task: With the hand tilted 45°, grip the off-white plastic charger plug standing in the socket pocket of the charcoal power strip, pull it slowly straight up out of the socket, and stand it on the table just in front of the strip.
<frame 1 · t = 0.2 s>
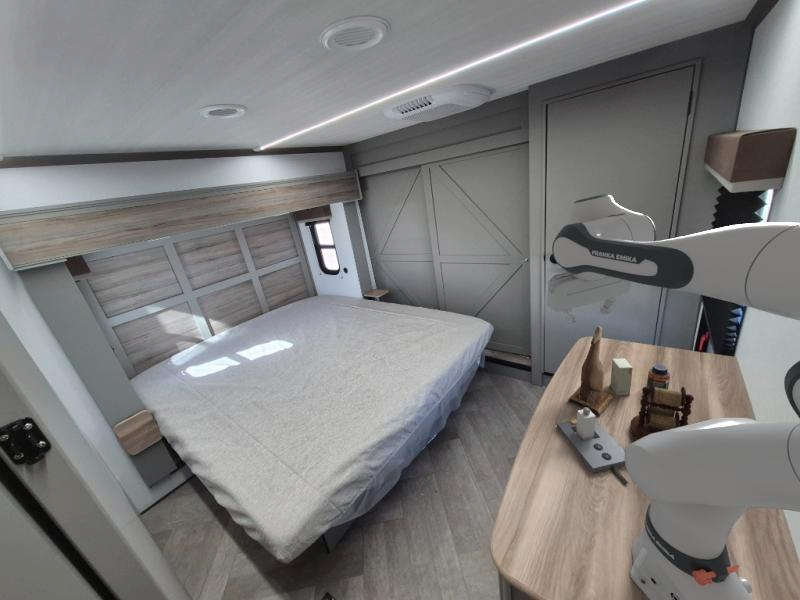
hand: (588, 317, 78), 47 cm above the cabinet, tool pointing down, fingers open, 8 cm apart
supplement bottle: (656, 393, 112), on the cabinet
charger plug: (584, 436, 101), resting in power strip
brown thread spool stand: (658, 438, 96), on the cabinet
bird sculpture: (589, 401, 114), on the cabinet
skincare box: (619, 390, 116), on the cabinet
power strip: (588, 441, 99), on the cabinet
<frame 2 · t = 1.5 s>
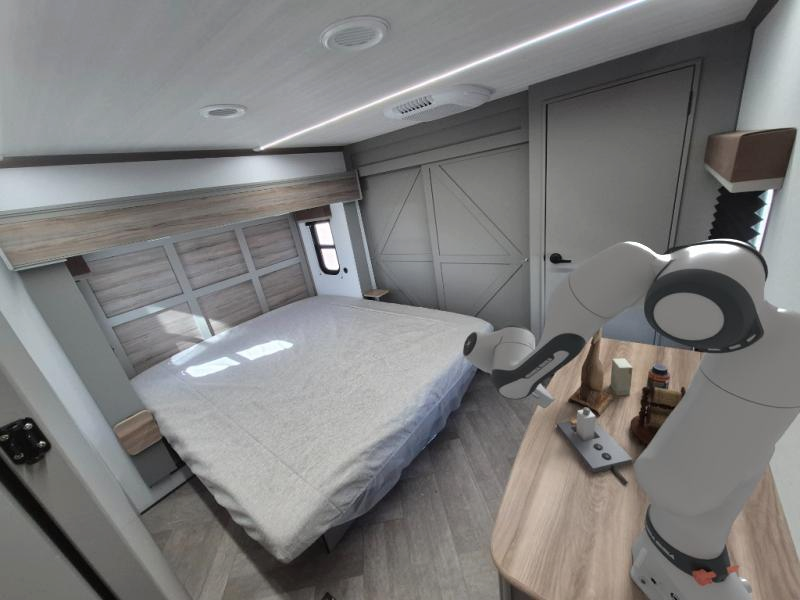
hand: (542, 389, 91), 23 cm above the cabinet, tool tilted 45°, fingers open, 8 cm apart
nothing on the cabinet moved.
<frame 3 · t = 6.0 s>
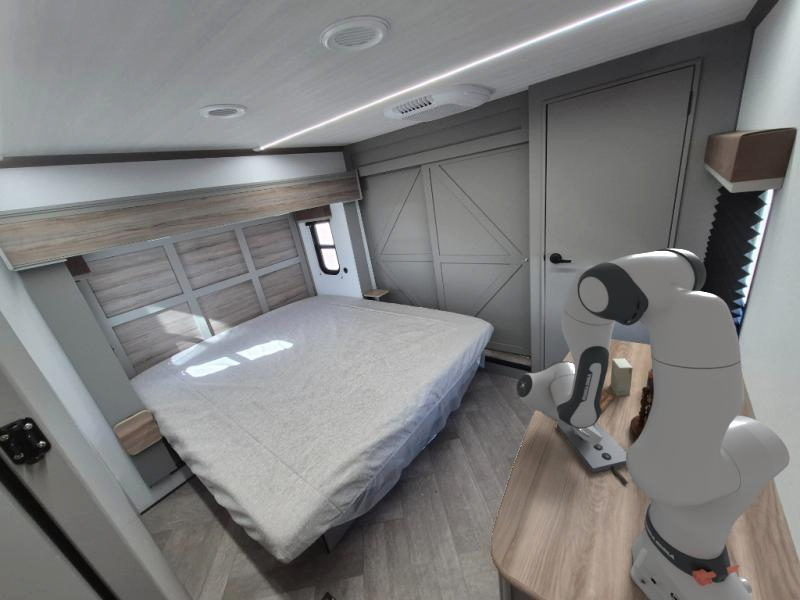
hand: (587, 423, 99), 5 cm above the cabinet, tool tilted 45°, fingers closed on charger plug, 3 cm apart
charger plug: (584, 436, 101), resting in power strip, touching gripper
everything else where it was.
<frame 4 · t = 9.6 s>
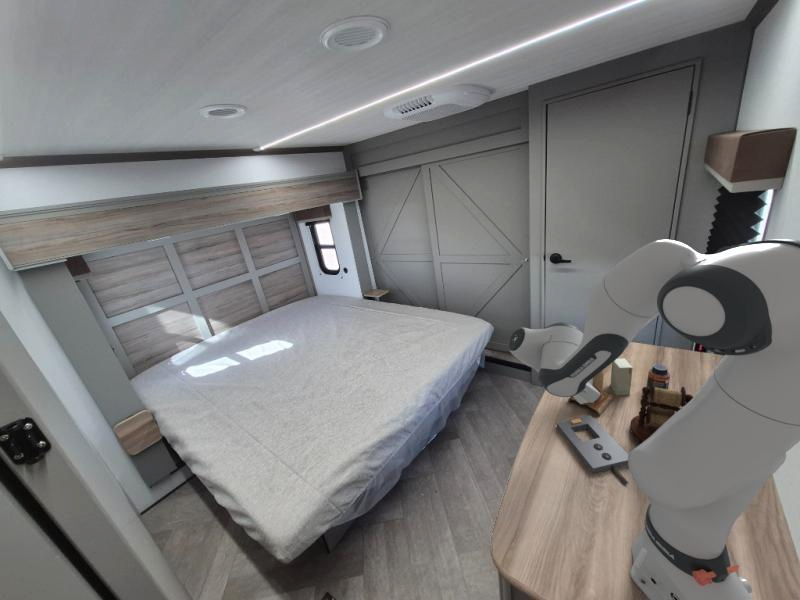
hand: (584, 384, 93), 21 cm above the cabinet, tool tilted 45°, fingers closed on charger plug, 3 cm apart
charger plug: (581, 399, 95), point 16 cm above the cabinet, touching gripper
everything else where it was.
when the fingers open (7 cm above the cabinet, at t = 13.4 s): charger plug drops 1 cm, on the cabinet.
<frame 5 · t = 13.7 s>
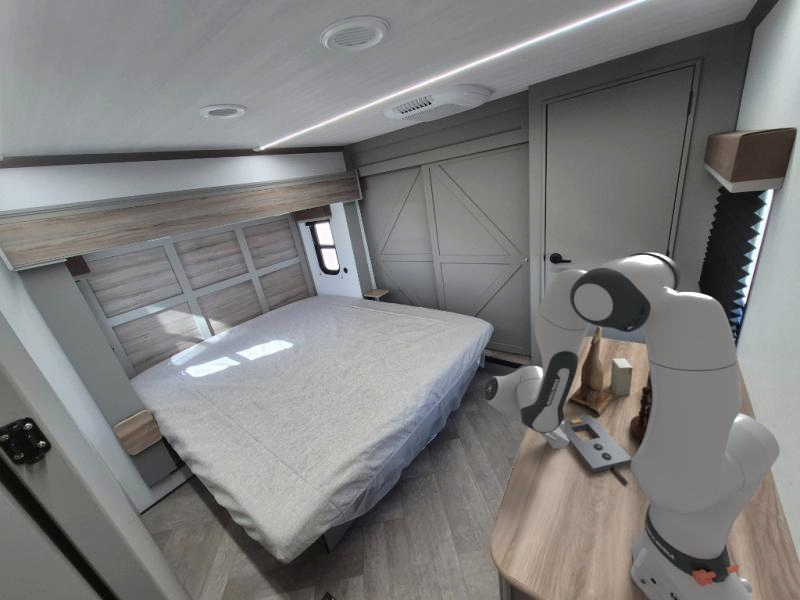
hand: (557, 427, 98), 7 cm above the cabinet, tool tilted 45°, fingers open, 6 cm apart
charger plug: (555, 443, 100), on the cabinet
everything else where it was.
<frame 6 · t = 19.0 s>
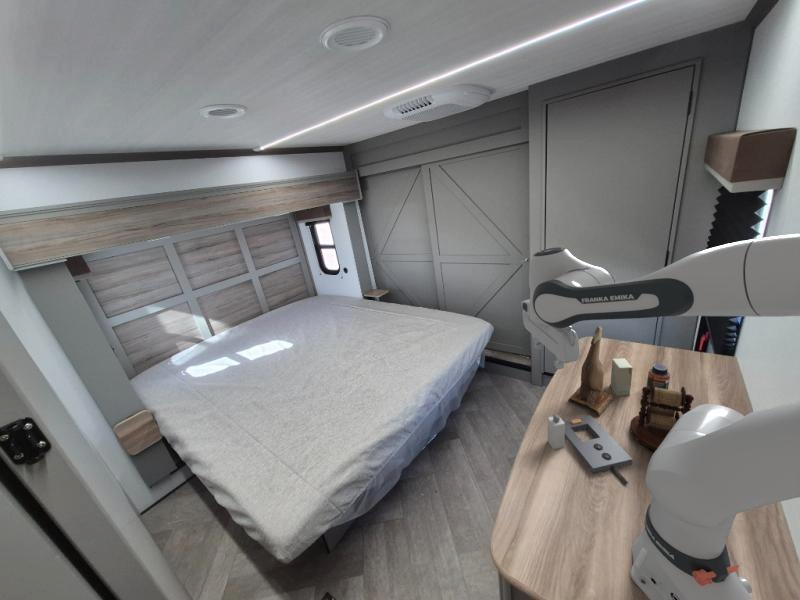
hand: (548, 357, 82), 37 cm above the cabinet, tool pointing down, fingers open, 8 cm apart
nothing on the cabinet moved.
at the end: charger plug inside the target area (0.3 cm from its centre), on the cabinet; charger plug tilted 0°; the gripper is holding nothing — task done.
